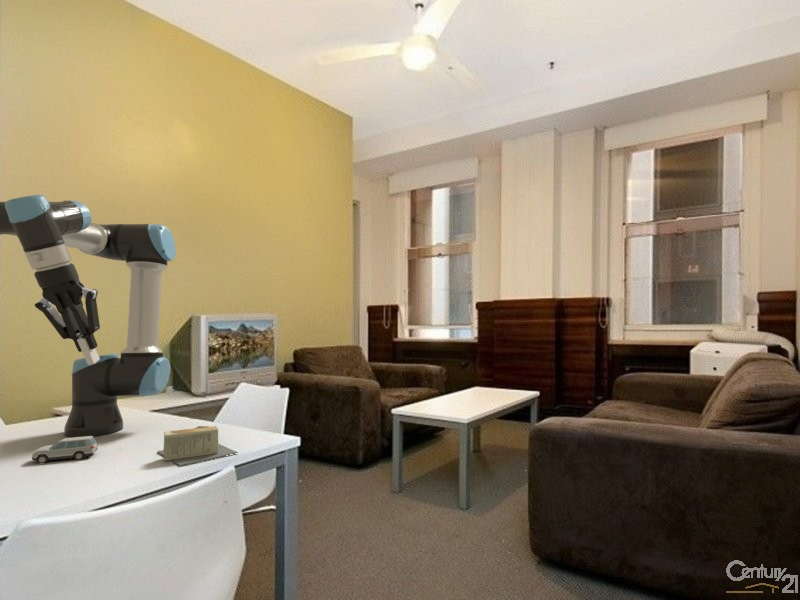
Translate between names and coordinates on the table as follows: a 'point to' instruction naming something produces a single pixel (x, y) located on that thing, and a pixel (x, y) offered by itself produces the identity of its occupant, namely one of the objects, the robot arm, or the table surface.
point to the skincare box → (190, 442)
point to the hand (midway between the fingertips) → (93, 362)
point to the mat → (191, 460)
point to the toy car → (66, 449)
